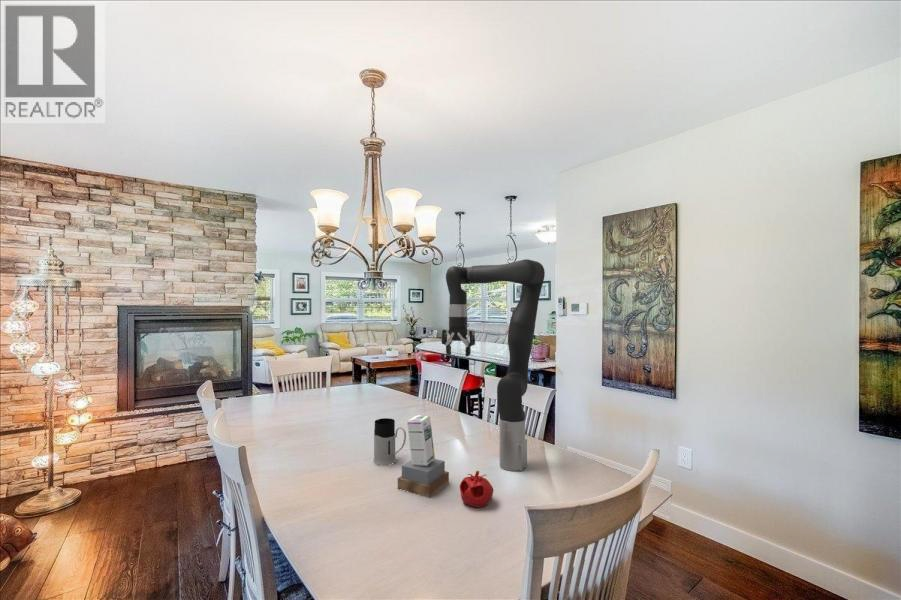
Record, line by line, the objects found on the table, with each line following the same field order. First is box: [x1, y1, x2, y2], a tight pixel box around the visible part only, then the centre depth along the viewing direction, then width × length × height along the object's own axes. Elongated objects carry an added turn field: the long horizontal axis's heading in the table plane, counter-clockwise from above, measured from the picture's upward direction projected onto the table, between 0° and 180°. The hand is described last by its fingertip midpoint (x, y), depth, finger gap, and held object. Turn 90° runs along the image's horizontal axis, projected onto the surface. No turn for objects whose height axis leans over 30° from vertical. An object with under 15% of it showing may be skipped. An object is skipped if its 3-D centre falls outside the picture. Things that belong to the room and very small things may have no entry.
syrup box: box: [406, 414, 436, 466], centre depth 130 cm, size 6×6×14 cm
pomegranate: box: [459, 470, 494, 508], centre depth 120 cm, size 10×10×9 cm
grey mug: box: [372, 417, 407, 466], centre depth 150 cm, size 9×14×15 cm, turn 59°
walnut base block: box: [397, 470, 450, 498], centre depth 130 cm, size 12×12×4 cm
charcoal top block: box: [401, 458, 446, 485], centre depth 130 cm, size 10×10×4 cm
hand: (458, 355), depth 163 cm, fingers open, 8 cm apart
